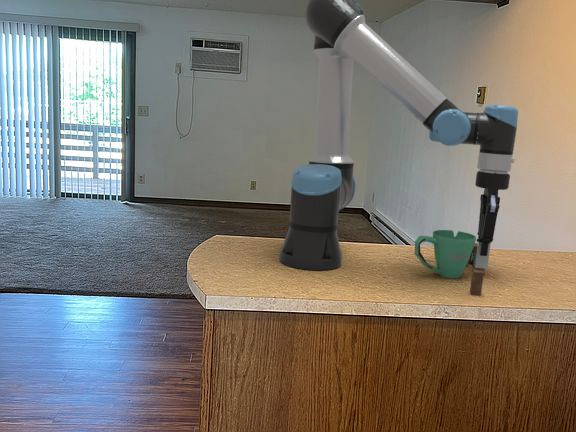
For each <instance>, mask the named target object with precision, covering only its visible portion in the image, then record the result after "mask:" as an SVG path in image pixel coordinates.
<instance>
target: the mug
mask: <svg viewBox="0 0 576 432" xmlns="http://www.w3.org/2000/svg"><path fill="white" fill-rule="evenodd" d="M425 242H428V243H430V244H432V245H433V251H434V253H433V254H434V260H435V265H436V266H434V265H432V264H430V263H428V262H427V260H426V259H425V257H424V256H423V254H422V251H421V244H422V243H425ZM476 242H477V236H476V235H474V234H472V233H468V232H465V231H459V230H458V231H457V233H456V235H455V233H454V230H452V229H451V230H450V229H438V230H433V231H432V236H428V235H419V236H418V237H417V238H416V239H415V241H414V255H415V257H416V258H417V259H418V260H419V261H420V263H422V265H423V266H424V268H426V269H429V270H431V271H432V272H435V273H437V274H439V276H441V277H444V278H448V279H459V278H461V276H462V274H463V273H464V271H465V269H466V265H467V266H468V264H467V263H468V260H469V258H470V255H471V252H472V250H473V247H474V244H475V243H476Z"/></svg>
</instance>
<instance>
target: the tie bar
mask: <svg viewBox="0 0 576 432" xmlns="http://www.w3.org/2000/svg"><path fill="white" fill-rule="evenodd" d="M476 254H477V253H472V257H471V264H472V265H473V267H474V270H482V271H483V272H485V269H483V268H476V267H475V262H476Z"/></svg>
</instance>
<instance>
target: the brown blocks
mask: <svg viewBox="0 0 576 432" xmlns="http://www.w3.org/2000/svg"><path fill="white" fill-rule="evenodd" d="M477 246H478V242H475V244H474V247H473V250H472V252H471V255H470V258H469V260H468V263H467V265H466V267H468V265H471V264H472V262H471V257H472V253H477ZM466 267H465V268H466ZM484 272H485V271H482V270H475V269H472V273H471V282H470V288H469V293H470V295H471V296H480V297H481V296H482V292H483V291H482V290H483V289H482V288H483V283H484V282H483V281H484V276H485V275H484V274H485V273H484Z"/></svg>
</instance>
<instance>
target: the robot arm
mask: <svg viewBox="0 0 576 432" xmlns="http://www.w3.org/2000/svg"><path fill="white" fill-rule="evenodd" d="M304 16H305V17H304V18H305V22H306V25H307V27H308V29H309V30H310V32H311V33H312V34H313V35H314V38H313V39H314V40H313V41H314V42H313V52H314V54H315V55H316V56H317V57H318V59H319V64H318V65H319V66H318V67H319V68H318V87H317V105H316V106H317V109H316V127H315V128H316V131H315V150H314V151H315V152H314V155H312V156H311V157H310V158H309V159H308V164H303V165H299V166H296V168H295V169H294V170H293V171H292V177H291V182H290V185H291V193H290V209H289V221H288V222H289V224H288V231H287V233H286V236H285V238H284V241H283V244H282V246H281V249H280V252H279V261H280V262H281V263H282V264H284V265H286V266H287V267H291V268H295V269H301V270H309V271H310V270H311V271H328V270H335V269H337V268H339V267H340V268H341V266H342V263H343V254H342V250H341V247H340V246H341V244H340V242H339V237H338V224H339V223H338V222H339V211H342V209H345V208H347V206H349V204H351V202H352V200H353V199H354V196H355V194H356V189H357V187H356V186H357V184H356V181H355V176H354V164H355V163H354V162H355V161H354V160H353V159H352V158H351V156H350V155H349V151H350V148H349V146H350V145H349V144H350V128H351V113H352V112H351V111H352V109H351V108H352V93H353V79H354V78H353V77H354V75H353V73H354V63H356V64H357V65H358V66H359V67H361V69H362V70H364V71H365V72H366V73H367V74H368V75H369V76H370V77H371V78H372V79H373V80H374V81H375V82H376V83H378V84H379V86H380V87H382V88H383V89H384V90H385V91H386V92H387V93H388V94H390V96H392V97H393V98H394V99H395V100H396V101H397V102H398V103H399V104H400V105H401V106H403V107H404V109H406V110H407V111H408V112H409V113H410V114H411V115H412V116H413V117H414V118H415V119H417V120H418V121H419V123H421V124H422V125H423V126H424V127H425V128H426V129H427V131H428V135H429V136H428V137H429V139H430V141H431V142H435V143H440V144H442V145H444V146H448V147H450V146H453V147H454V146H458V145H460V144H462V145H473V146H474V145H475V146H479V151H478V157H477V158H478V159H477V165H476V168H477V169H478V171H477V172H476V174H475V175H476V176H475V182H474V183H475V187H477V188H480V189H483V194H480V200H479V201H480V207H479V217H478V230H477V238H476V243H478V246H477V254H476V262H475V267H476V268H483V269H484V270H485V269H486V270H487V269H488V266H489V259H490V251H491V244H492V242H493V241H494V235H495V231H496V223H497V218H498V213H499V209H500V202H501V201H500V200H501V197H500V196H499V191H500V190H501V191H504V190H505V191H506V190H508V189H509V186H510V178H511V175H510V174H509V173H508V172H511V169H512V164H513V163H515V158H513V155H514V149H515V142H516V136H517V130H518V129H517V128H518V118H519V110H518V108H517V107H516V106H512V105H504V104H503V105H500V104H499V105H498V104H496V105H495V104H487V105H486V106H485V107H484V110H483V112H470V111H469V112H466V111H462V110H461V109H459V108H458V107H457V106H456V105H455V104H454V103H453V102H452V101H451V100H449V99H448V98H447V96H445V95H444V94H443V93H442V92H441V91H440V90H439V89H438V88H437V87H436V86H435V85H433V84H432V83H431V82H430V81H429V80H428V79H427V78H426V77H425V76H423V75H422V73H420V72H419V71H418V70H417V69H416V68H415V67H414V66H413V65H411V64H410V63H409V62H408V60H406V59H405V58H404V57H403V56H402V55H401V54H399V52H397V50H395V49H394V48H393V47H392V46H391V45H389V43H387V42H386V40H384V39H383V38H382V37H381V36H380V35H379V34H378V33H376V31H374V30H373V29H372V28H371V27H370V26H369V25H367V23H366V17H365V14H364V12H363V9H362V7H361V6H360V4H359V3H358V2H357V1H356V0H308V2H307V4H306V6H305V15H304ZM475 267H474V268H475Z"/></svg>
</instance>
